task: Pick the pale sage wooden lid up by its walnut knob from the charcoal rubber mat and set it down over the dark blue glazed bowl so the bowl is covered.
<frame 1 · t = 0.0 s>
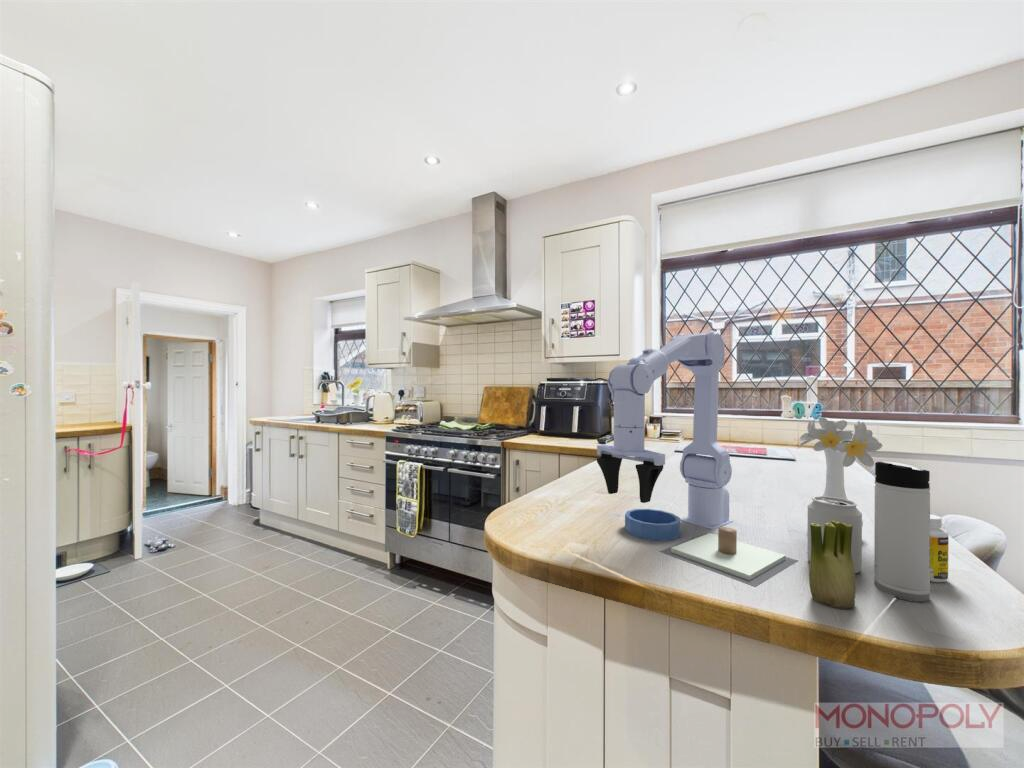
hand: (628, 497, 80), 10 cm above the worktop, tool pointing down, fingers open, 7 cm apart
fennel bulb: (831, 605, 60), on the worktop
flower vase: (838, 536, 89), on the worktop
mat: (727, 558, 76), on the worktop
travel mug: (900, 593, 64), on the worktop
lid: (727, 555, 76), resting on mat
can: (833, 569, 72), on the worktop
supplement bottle: (924, 577, 70), on the worktop
bowl: (652, 534, 89), on the worktop
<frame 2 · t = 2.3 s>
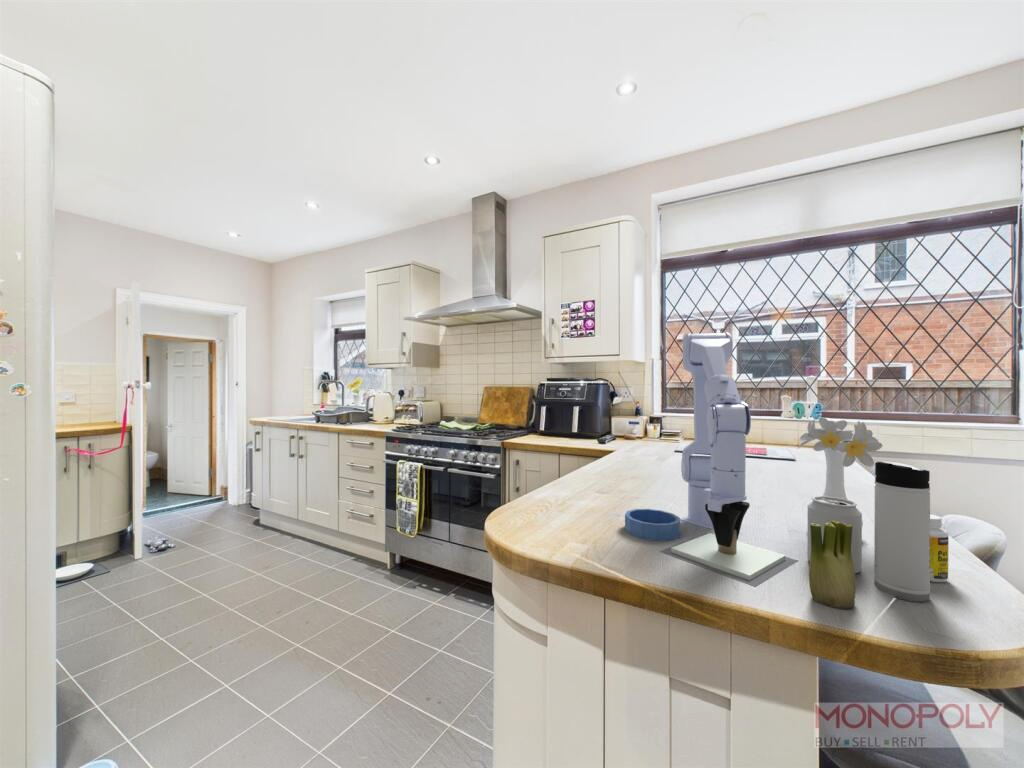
hand: (727, 542, 76), 3 cm above the worktop, tool pointing down, fingers closed on lid, 3 cm apart
lid: (727, 555, 76), resting on mat, touching gripper
everything else where it was.
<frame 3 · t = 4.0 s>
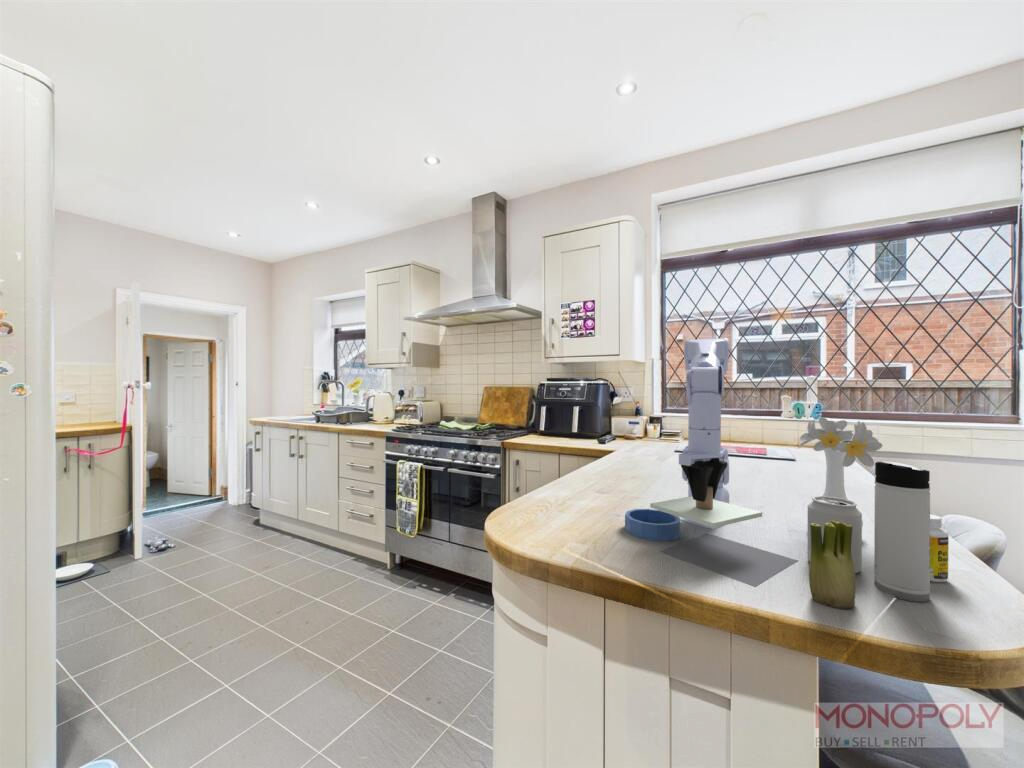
hand: (703, 498, 80), 10 cm above the worktop, tool pointing down, fingers closed on lid, 3 cm apart
lid: (704, 511, 80), point 7 cm above the worktop, touching gripper
everything else where it was.
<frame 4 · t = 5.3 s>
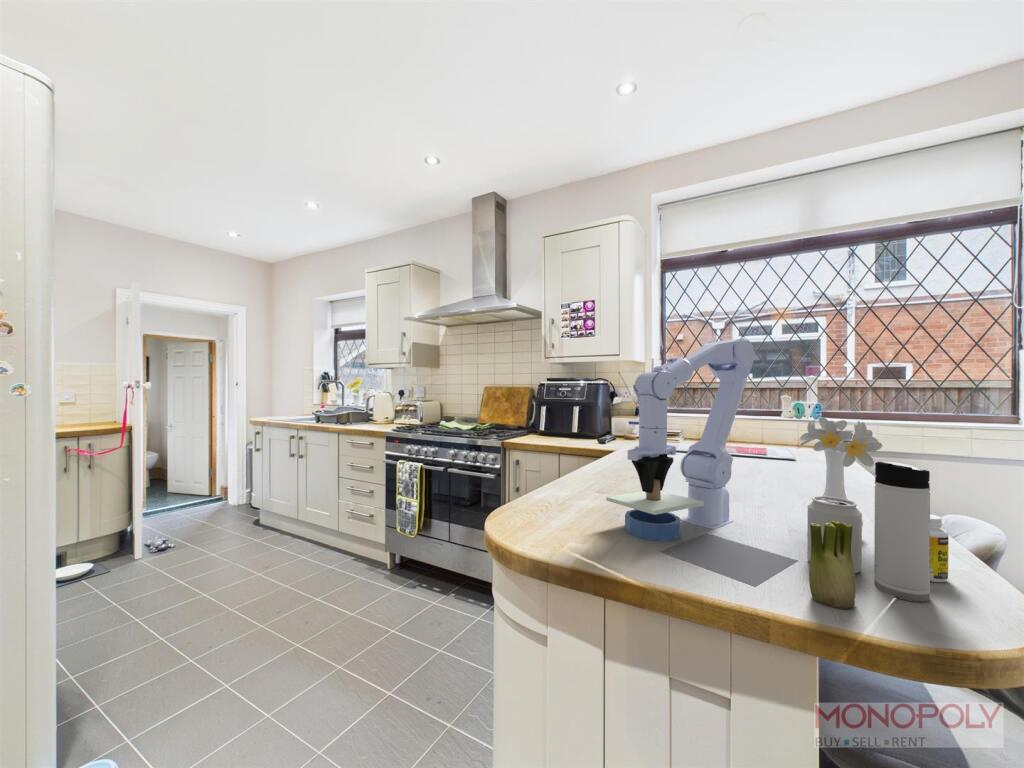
hand: (652, 490, 89), 9 cm above the worktop, tool pointing down, fingers closed on lid, 3 cm apart
lid: (653, 502, 89), point 7 cm above the worktop, touching gripper
everything else where it was.
when the fingers open (7 cm above the worktop, at t = 6.0 s): lid stays where it is, point 4 cm above the worktop.
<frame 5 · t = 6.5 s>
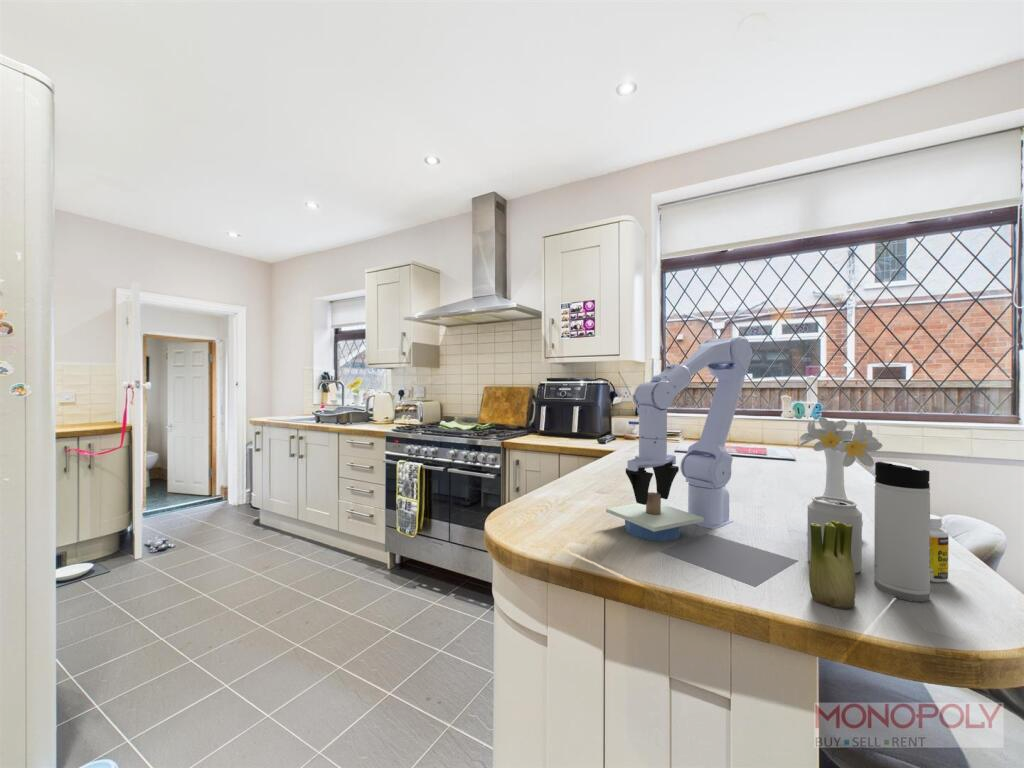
hand: (652, 500, 89), 7 cm above the worktop, tool pointing down, fingers open, 7 cm apart
lid: (653, 516, 89), point 4 cm above the worktop
everything else where it was.
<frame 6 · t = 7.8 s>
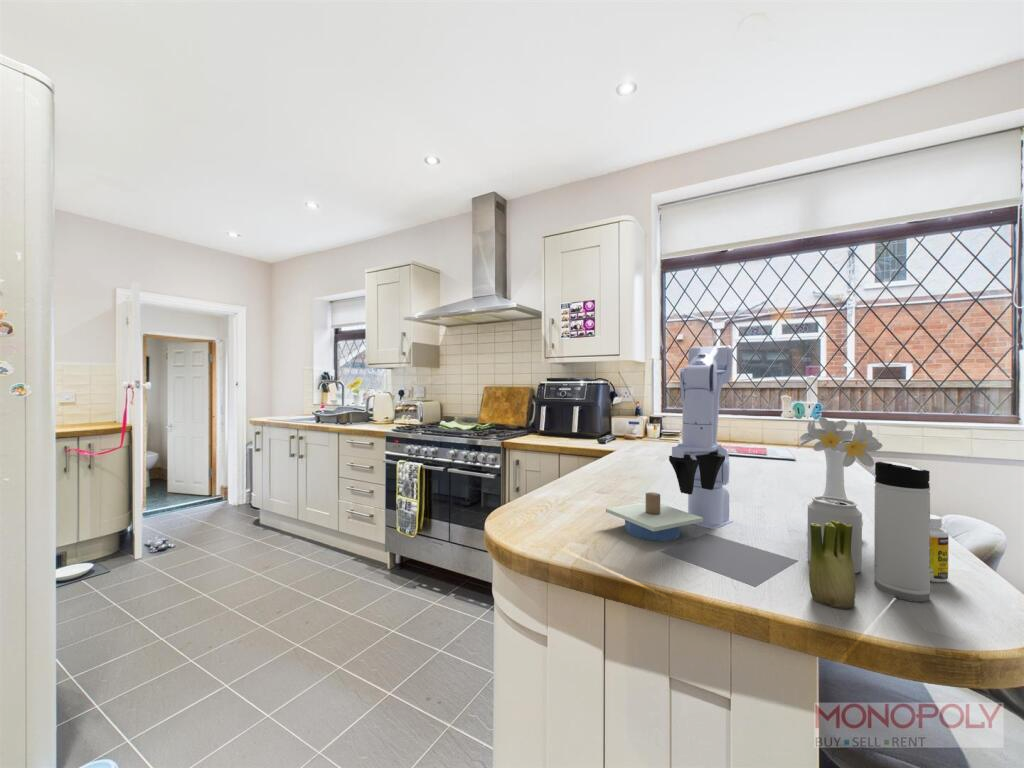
hand: (697, 491, 84), 10 cm above the worktop, tool pointing down, fingers open, 7 cm apart
lid: (652, 516, 89), point 4 cm above the worktop, touching bowl
bowl: (652, 534, 89), on the worktop, touching lid
everything else where it was.
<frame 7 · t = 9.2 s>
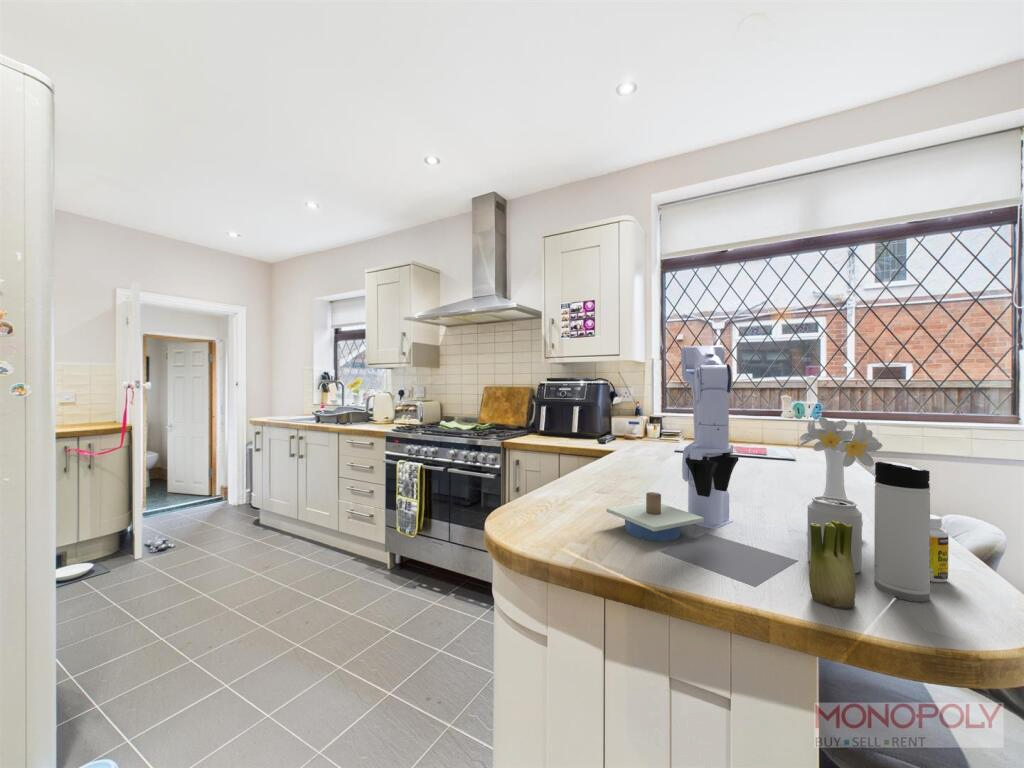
hand: (712, 493, 82), 10 cm above the worktop, tool pointing down, fingers open, 7 cm apart
lid: (653, 516, 89), point 4 cm above the worktop
bowl: (652, 533, 89), on the worktop
everything else where it was.
at the end: lid 0.2 cm from the bowl (horizontally); lid point 3.6 cm above the worktop; lid tilted 0° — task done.
